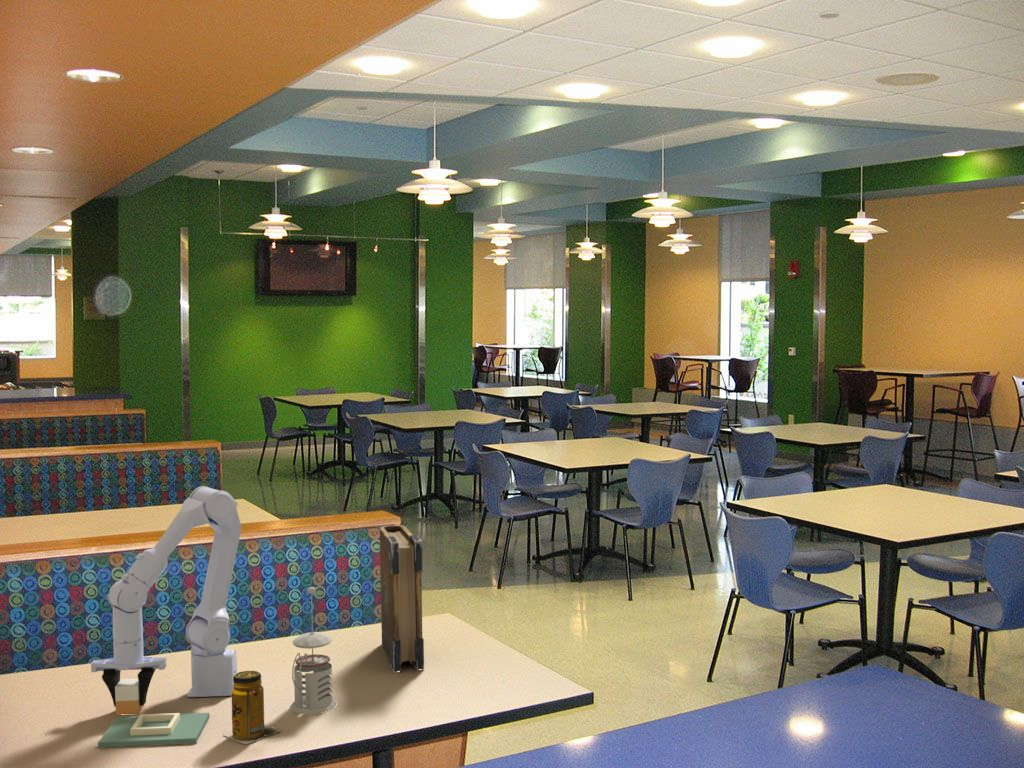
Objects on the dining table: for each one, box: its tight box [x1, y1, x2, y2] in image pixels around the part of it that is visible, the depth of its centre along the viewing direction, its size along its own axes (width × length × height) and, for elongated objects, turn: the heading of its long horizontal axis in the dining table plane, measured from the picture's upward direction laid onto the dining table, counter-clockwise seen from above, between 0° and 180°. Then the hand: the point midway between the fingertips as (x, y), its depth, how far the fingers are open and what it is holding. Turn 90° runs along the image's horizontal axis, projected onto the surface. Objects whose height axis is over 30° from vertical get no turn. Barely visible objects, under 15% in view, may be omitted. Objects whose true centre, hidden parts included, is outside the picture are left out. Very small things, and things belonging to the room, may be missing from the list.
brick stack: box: [115, 678, 145, 716], centre depth 212 cm, size 4×4×6 cm
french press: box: [289, 586, 338, 715], centre depth 213 cm, size 10×12×25 cm
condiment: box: [223, 670, 283, 745], centre depth 199 cm, size 7×8×12 cm
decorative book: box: [379, 524, 425, 672], centre depth 245 cm, size 23×7×30 cm, turn 15°
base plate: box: [97, 712, 211, 749], centre depth 201 cm, size 18×13×2 cm
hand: (130, 704), depth 212 cm, fingers closed on brick stack, 4 cm apart
